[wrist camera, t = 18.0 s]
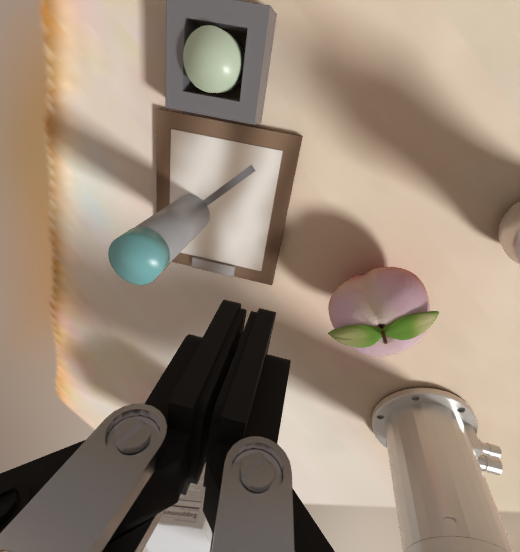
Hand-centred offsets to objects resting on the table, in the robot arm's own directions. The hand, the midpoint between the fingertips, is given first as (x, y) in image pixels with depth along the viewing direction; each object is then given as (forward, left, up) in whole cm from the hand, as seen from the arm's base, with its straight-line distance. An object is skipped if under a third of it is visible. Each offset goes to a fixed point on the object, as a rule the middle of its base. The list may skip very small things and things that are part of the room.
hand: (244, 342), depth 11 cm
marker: (+11, +6, -24) cm, 27 cm away
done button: (+9, -8, -24) cm, 27 cm away
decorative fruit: (-10, +10, -25) cm, 29 cm away
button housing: (+9, -8, -25) cm, 28 cm away
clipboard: (+8, +4, -25) cm, 27 cm away
